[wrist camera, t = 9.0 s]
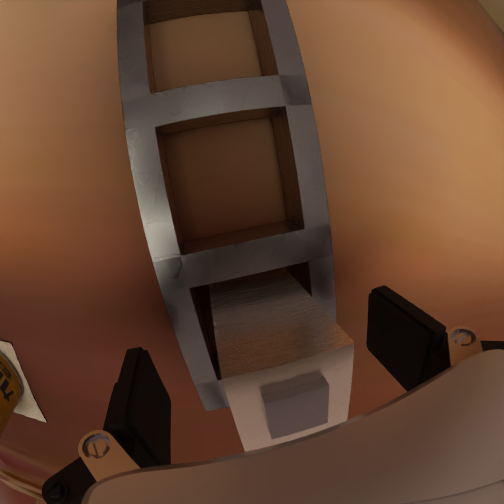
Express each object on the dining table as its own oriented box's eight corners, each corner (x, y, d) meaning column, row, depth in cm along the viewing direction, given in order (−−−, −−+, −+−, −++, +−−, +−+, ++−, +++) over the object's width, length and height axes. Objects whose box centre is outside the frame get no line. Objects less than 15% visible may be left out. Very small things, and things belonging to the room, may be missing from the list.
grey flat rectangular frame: (126, 3, 9) (117, -19, 7) (262, -15, 11) (272, -38, 8) (203, 384, 16) (205, 410, 14) (321, 353, 17) (336, 375, 15)
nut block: (207, 278, 15) (223, 388, 7) (280, 263, 15) (360, 349, 7) (222, 340, 16) (246, 459, 8) (287, 325, 16) (351, 428, 8)
